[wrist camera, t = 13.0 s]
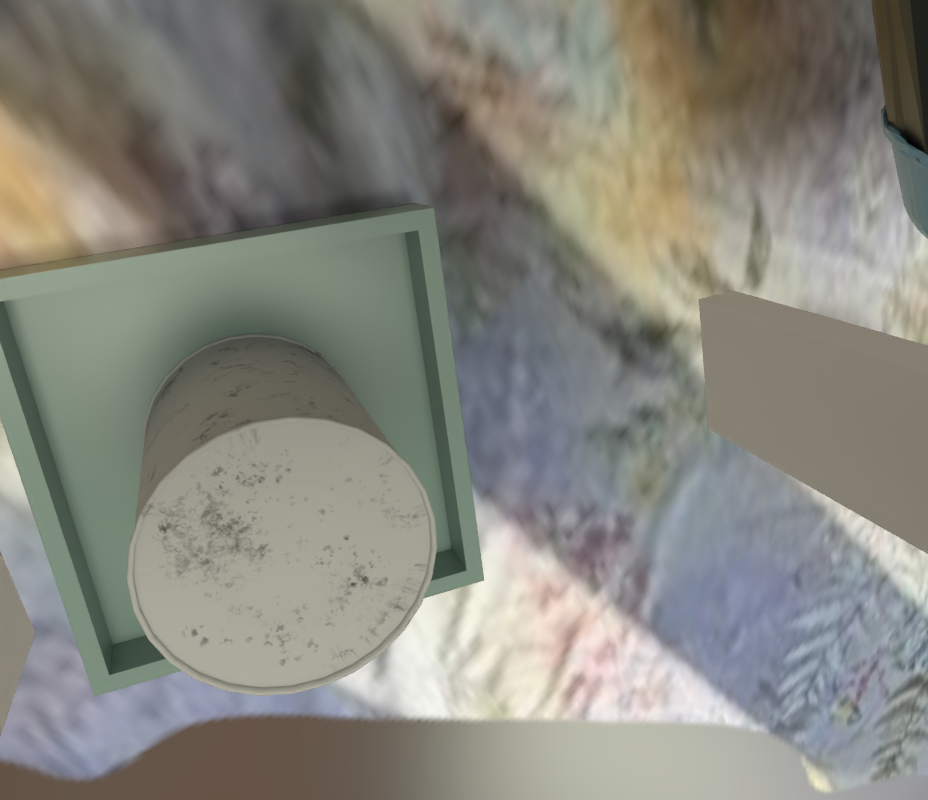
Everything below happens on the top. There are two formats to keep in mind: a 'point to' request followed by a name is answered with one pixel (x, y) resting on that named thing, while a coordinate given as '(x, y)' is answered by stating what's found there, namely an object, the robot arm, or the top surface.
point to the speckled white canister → (273, 522)
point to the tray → (183, 332)
